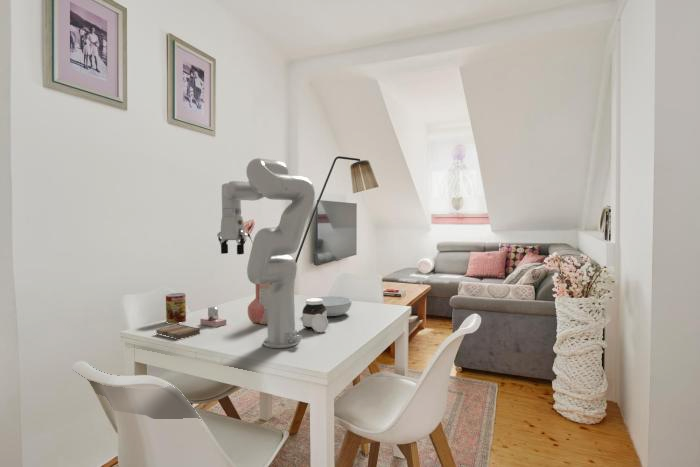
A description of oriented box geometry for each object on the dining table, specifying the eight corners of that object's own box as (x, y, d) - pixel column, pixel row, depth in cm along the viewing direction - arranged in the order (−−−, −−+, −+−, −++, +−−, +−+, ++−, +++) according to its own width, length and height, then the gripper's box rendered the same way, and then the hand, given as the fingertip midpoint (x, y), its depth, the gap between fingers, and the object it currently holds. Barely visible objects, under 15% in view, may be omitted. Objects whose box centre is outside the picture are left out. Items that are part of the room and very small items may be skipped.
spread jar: (314, 324, 164) (314, 296, 163) (336, 327, 158) (336, 299, 157) (296, 331, 153) (296, 302, 153) (319, 335, 147) (319, 304, 147)
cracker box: (271, 325, 162) (270, 275, 162) (258, 324, 164) (257, 275, 163) (286, 317, 176) (285, 271, 175) (273, 316, 177) (273, 271, 177)
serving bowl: (297, 316, 178) (297, 301, 177) (326, 308, 195) (325, 294, 195) (333, 322, 166) (333, 306, 166) (360, 313, 183) (360, 298, 183)
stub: (226, 324, 164) (226, 307, 164) (215, 327, 160) (215, 310, 160) (211, 321, 170) (210, 305, 169) (200, 324, 165) (200, 307, 165)
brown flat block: (199, 333, 151) (199, 328, 151) (178, 340, 143) (178, 334, 143) (177, 329, 158) (177, 323, 158) (156, 334, 150) (156, 329, 150)
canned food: (176, 324, 166) (175, 296, 165) (162, 323, 168) (161, 295, 168) (189, 320, 173) (189, 293, 173) (176, 318, 176) (175, 292, 175)
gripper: (253, 212, 160) (253, 253, 160) (224, 213, 169) (225, 252, 170) (238, 212, 154) (239, 255, 154) (210, 213, 163) (211, 253, 163)
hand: (232, 253), depth 162 cm, fingers open, 9 cm apart
